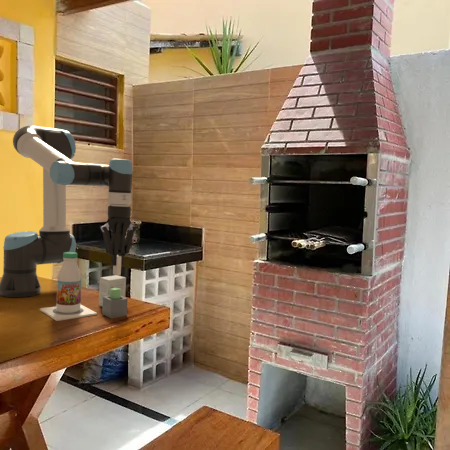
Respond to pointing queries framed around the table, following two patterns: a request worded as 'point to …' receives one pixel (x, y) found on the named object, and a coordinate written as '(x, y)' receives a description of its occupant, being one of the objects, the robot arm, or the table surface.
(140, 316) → the table surface
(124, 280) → the small box
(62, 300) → the milk bottle
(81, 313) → the white square plate
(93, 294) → the table surface
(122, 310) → the button box
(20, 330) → the table surface
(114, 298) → the button
